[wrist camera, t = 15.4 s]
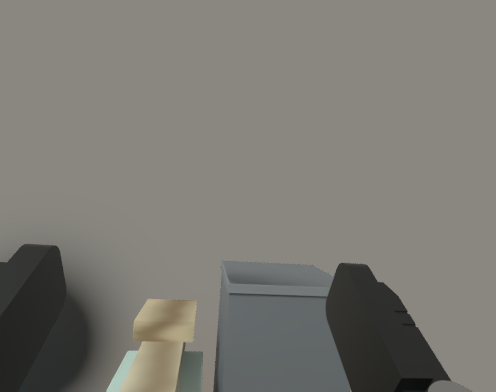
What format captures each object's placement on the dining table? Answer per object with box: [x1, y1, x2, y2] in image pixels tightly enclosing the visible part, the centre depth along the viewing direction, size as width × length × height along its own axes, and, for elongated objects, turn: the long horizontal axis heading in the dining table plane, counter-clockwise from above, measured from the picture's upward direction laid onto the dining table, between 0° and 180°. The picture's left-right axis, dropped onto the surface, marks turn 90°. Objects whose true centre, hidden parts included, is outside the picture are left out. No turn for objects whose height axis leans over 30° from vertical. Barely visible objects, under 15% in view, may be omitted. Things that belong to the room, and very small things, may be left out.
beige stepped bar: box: [119, 299, 197, 392], centre depth 30 cm, size 6×22×5 cm, turn 7°
